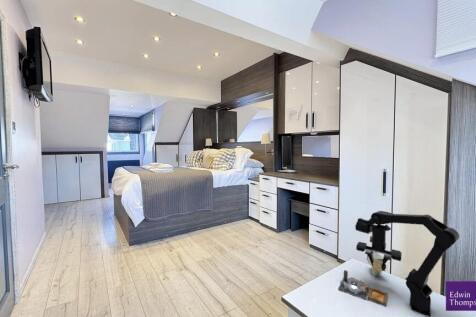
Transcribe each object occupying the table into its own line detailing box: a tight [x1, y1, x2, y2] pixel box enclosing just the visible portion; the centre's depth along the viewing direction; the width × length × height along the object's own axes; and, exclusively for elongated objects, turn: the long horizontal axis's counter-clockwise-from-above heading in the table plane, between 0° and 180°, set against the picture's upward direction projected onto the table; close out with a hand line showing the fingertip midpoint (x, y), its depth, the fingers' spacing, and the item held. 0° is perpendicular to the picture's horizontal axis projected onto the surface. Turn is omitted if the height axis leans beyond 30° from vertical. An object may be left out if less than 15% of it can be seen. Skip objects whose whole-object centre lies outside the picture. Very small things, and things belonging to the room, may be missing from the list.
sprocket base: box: [337, 279, 370, 301], centre depth 112 cm, size 12×12×1 cm
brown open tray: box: [366, 286, 389, 307], centre depth 105 cm, size 7×9×2 cm
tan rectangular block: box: [373, 259, 383, 274], centre depth 112 cm, size 4×5×4 cm
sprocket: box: [339, 270, 369, 295], centre depth 112 cm, size 12×12×6 cm
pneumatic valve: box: [366, 251, 387, 277], centre depth 124 cm, size 6×12×12 cm, turn 174°
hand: (377, 267), depth 112 cm, fingers closed on tan rectangular block, 3 cm apart
